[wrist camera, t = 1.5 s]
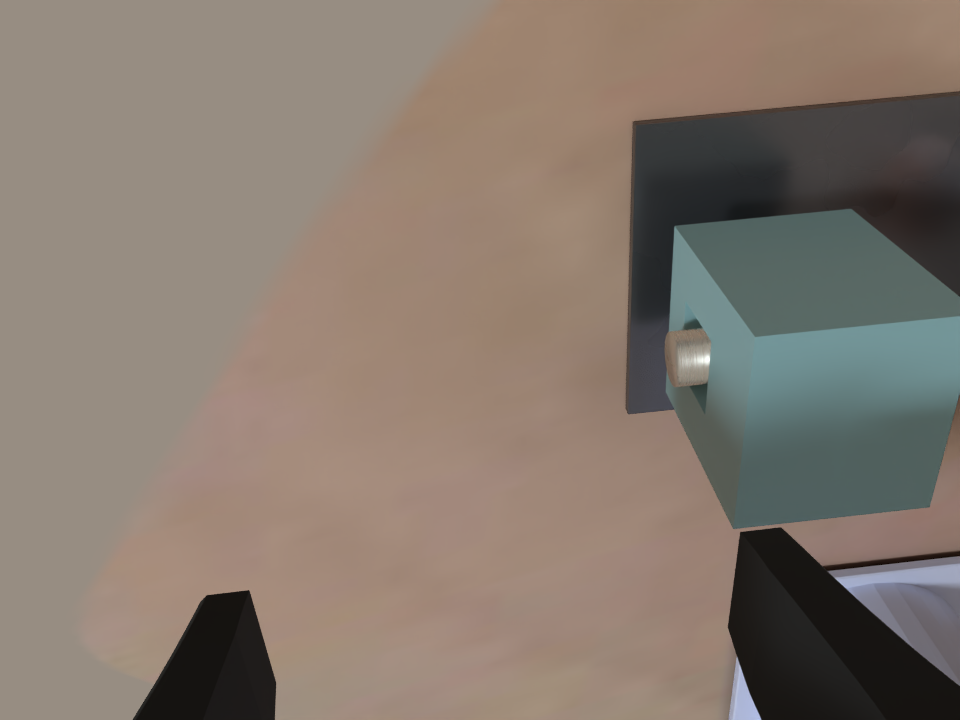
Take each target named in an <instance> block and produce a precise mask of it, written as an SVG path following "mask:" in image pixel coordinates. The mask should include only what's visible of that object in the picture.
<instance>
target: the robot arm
mask: <svg viewBox="0 0 960 720" xmlns="http://www.w3.org/2000/svg"><path fill="white" fill-rule="evenodd" d="M728 629H729V632H730V635H731V638H732V642H733V645H734V648H735V651H736V654H737V659H736V667H735V675H734V682H733V690H732V698H731V706H730V713H729V720H960V556H956V557H947V558H938V559H930V560H921V561H912V562H903V563H894V564H886V565H877V566H868V567H859V568H850V569H841V570H833V571H827V570H826V569H825V568H824V567H823V566H821V565H820V564H819V563H818V562H817V561H816V560H815V559H814V558H813V557H812V556H811V555H810V554H809V553H808V552H807V551H806V550H805V549H804V548H803V547H802V546H800V545H799V544H798V543H797V542H796V541H795V540H794V539H793V538H792V537H791V536H790V535H789V534H788V533H787V532H786V531H784V530H783V529H782V528H781V527H780V528H772V529H763V530H755V531H746V532H740V539H739V546H738V554H737V562H736V569H735V577H734V585H733V592H732V600H731V607H730V615H729V623H728ZM275 699H276V681H275V677H274V674H273V671H272V667H271V664H270V660H269V657H268V653H267V650H266V646H265V643H264V639H263V636H262V632H261V629H260V626H259V622H258V619H257V615H256V612H255V608H254V605H253V601H252V598H251V594H250V591H249V590H248V591H239V592H231V593H222V594H214V595H207V596H206V597H205V598H204V599H203V600H202V601H201V602H200V604H199V606H198V608H197V610H196V611H195V613H194V615H193V617H192V619H191V621H190V623H189V625H188V626H187V628H186V630H185V632H184V634H183V636H182V637H181V639H180V641H179V643H178V645H177V646H176V648H175V650H174V652H173V653H172V655H171V657H170V659H169V660H168V662H167V664H166V666H165V667H164V669H163V671H162V672H161V674H160V676H159V678H158V679H157V681H156V683H155V684H154V686H153V688H152V689H151V691H150V692H149V694H148V696H147V697H146V699H145V701H144V702H143V704H142V705H141V707H140V709H139V710H138V712H137V714H136V715H135V717H134V718H133V720H275Z"/></svg>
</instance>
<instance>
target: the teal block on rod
mask: <svg viewBox="0 0 960 720" xmlns="http://www.w3.org/2000/svg"><path fill="white" fill-rule="evenodd" d="M699 328H703V329H704V331H705V332H706V334H707V336H708V337H709V339H710V340H711V352H710V364H709V376H708V384H701V385H691V386H682V387H674V386H673V385H672V384H671V382H670V380H669V377H668V373H667V375H666V393H667V395H668V397H669V399H670V402H671V404H672V406H673V408H674V410H675V412H676V414H677V416H678V418H679V420H680V422H681V424H682V426H683V428H684V430H685V432H686V434H687V436H688V438H689V440H690V442H691V444H692V446H693V448H694V450H695V452H696V454H697V456H698V458H699V460H700V462H701V464H702V467H703V469H704V471H705V473H706V475H707V477H708V479H709V481H710V483H711V485H712V487H713V489H714V491H715V493H716V495H717V497H718V499H719V501H720V503H721V505H722V507H723V509H724V511H725V513H726V515H727V517H728V519H729V521H730V523H731V525H732V527H733V529H737V528H746V527H755V526H764V525H773V524H782V523H791V522H800V521H809V520H818V519H827V518H837V517H846V516H855V515H864V514H873V513H882V512H891V511H900V510H909V509H918V508H927V507H930V503H931V500H932V496H933V492H934V488H935V485H936V481H937V477H938V473H939V470H940V466H941V462H942V458H943V454H944V451H945V447H946V443H947V439H948V436H949V432H950V428H951V424H952V420H953V417H954V413H955V409H956V405H957V402H958V398H959V394H960V297H959V296H958V295H957V294H956V293H954V292H953V291H952V290H951V289H949V288H948V287H947V286H946V285H944V284H943V283H942V282H941V281H940V280H938V279H937V278H936V277H935V276H933V275H932V274H931V273H930V272H928V271H927V270H926V269H925V268H924V267H922V266H921V265H920V264H919V263H917V262H916V261H915V260H914V259H912V258H911V257H910V256H909V255H908V254H906V253H905V252H904V251H903V250H901V249H900V248H899V247H898V246H896V245H895V244H894V243H893V242H892V241H890V240H889V239H888V238H887V237H885V236H884V235H883V234H882V233H880V232H879V231H878V230H877V229H876V228H874V227H873V226H872V225H871V224H869V223H868V222H867V221H866V220H864V219H863V218H862V217H861V216H860V215H858V214H857V213H856V212H855V211H853V210H852V209H844V210H834V211H823V212H813V213H802V214H792V215H782V216H771V217H761V218H751V219H740V220H730V221H720V222H709V223H699V224H689V225H678V226H674V245H673V263H672V282H671V301H670V319H669V332H670V331H680V330H689V329H699Z"/></svg>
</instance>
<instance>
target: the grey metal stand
mask: <svg viewBox="0 0 960 720" xmlns="http://www.w3.org/2000/svg"><path fill="white" fill-rule="evenodd" d="M844 209H852V210H853V211H855V212H856V213H857V214H858V215H860V216H861V217H862V218H863V219H864V220H866V221H867V222H868V223H869V224H871V225H872V226H873V227H874V228H876V229H877V230H878V231H879V232H880V233H882V234H883V235H884V236H885V237H887V238H888V239H889V240H890V241H892V242H893V243H894V244H895V245H896V246H898V247H899V248H900V249H901V250H903V251H904V252H905V253H906V254H908V255H909V256H910V257H911V258H912V259H914V260H915V261H916V262H917V263H919V264H920V265H921V266H922V267H924V268H925V269H926V270H927V271H928V272H930V273H931V274H932V275H933V276H935V277H936V278H937V279H938V280H940V281H941V282H942V283H943V284H944V285H946V286H947V287H948V288H949V289H951V290H952V291H953V292H954V293H956V294H957V295H958V296H959V297H960V92H951V93H940V94H929V95H918V96H907V97H896V98H885V99H874V100H863V101H853V102H842V103H831V104H820V105H809V106H798V107H787V108H776V109H765V110H754V111H743V112H732V113H721V114H711V115H700V116H689V117H678V118H667V119H656V120H645V121H634V122H633V137H632V176H631V215H630V255H629V294H628V333H627V373H626V410H627V413H628V414H636V413H645V412H655V411H664V410H674V408H673V406H672V404H671V402H670V399H669V397H668V395H667V393H666V375H667V373H668V377H669V380H670V382H671V384H672V385H673V386H674V387H682V386H691V385H701V384H708V376H709V364H710V352H711V340H710V339H709V337H708V336H707V334H706V332H705V331H704V329H703V328H699V329H689V330H680V331H670V332H669V319H670V301H671V282H672V263H673V245H674V226H678V225H689V224H699V223H709V222H720V221H730V220H740V219H751V218H761V217H771V216H782V215H792V214H802V213H813V212H823V211H834V210H844Z"/></svg>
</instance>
